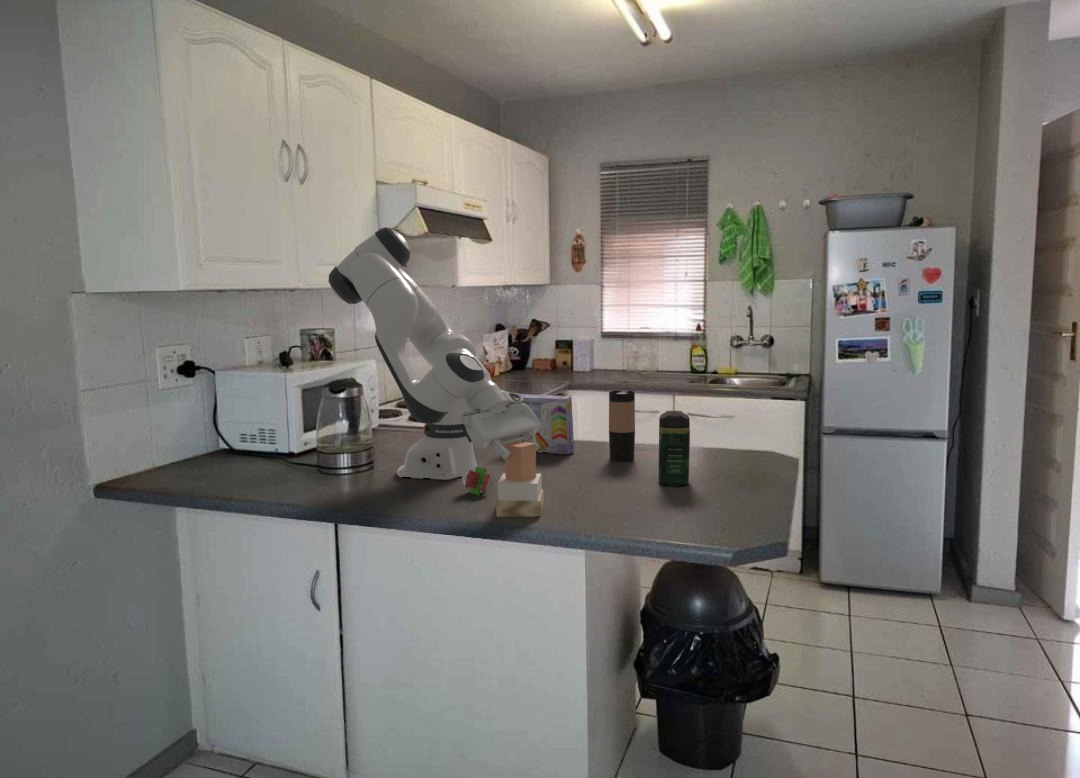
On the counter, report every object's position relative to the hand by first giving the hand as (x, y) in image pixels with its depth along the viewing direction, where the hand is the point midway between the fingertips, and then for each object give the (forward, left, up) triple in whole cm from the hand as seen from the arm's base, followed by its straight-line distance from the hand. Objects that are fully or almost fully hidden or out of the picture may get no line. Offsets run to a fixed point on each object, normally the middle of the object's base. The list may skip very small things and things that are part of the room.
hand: (522, 453), depth 174 cm
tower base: (-1, 0, -14) cm, 14 cm away
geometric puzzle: (-13, +14, -14) cm, 23 cm away
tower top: (-1, 0, -10) cm, 10 cm away
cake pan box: (+2, +61, -14) cm, 63 cm away
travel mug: (+25, +50, -14) cm, 58 cm away
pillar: (-1, 0, -6) cm, 6 cm away
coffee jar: (+37, +24, -14) cm, 47 cm away
